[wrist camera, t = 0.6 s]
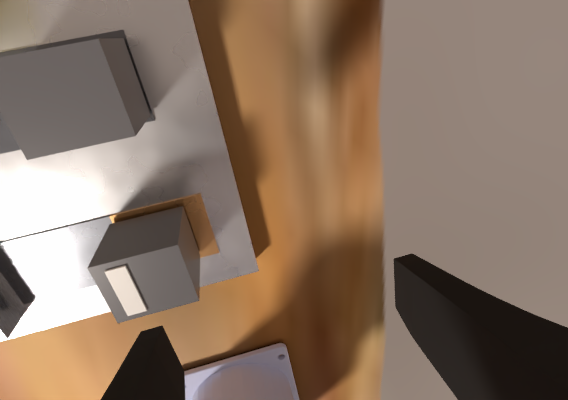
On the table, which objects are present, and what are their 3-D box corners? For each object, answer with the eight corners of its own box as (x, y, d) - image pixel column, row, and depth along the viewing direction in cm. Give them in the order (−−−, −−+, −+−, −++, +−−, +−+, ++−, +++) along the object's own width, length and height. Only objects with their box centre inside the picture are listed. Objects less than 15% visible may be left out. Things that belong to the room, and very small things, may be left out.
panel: (256, 258, 21) (262, 289, 18) (-6, 328, 19) (-37, 372, 17) (157, -117, 13) (146, -155, 10) (-309, -50, 11) (-458, -75, 8)
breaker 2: (200, 255, 18) (199, 302, 15) (133, 272, 18) (117, 324, 14) (182, 205, 17) (177, 246, 13) (109, 223, 16) (86, 269, 13)
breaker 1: (150, 114, 14) (135, 136, 11) (66, 133, 14) (26, 160, 11) (123, 38, 13) (98, 38, 10) (29, 56, 13) (-28, 62, 10)
